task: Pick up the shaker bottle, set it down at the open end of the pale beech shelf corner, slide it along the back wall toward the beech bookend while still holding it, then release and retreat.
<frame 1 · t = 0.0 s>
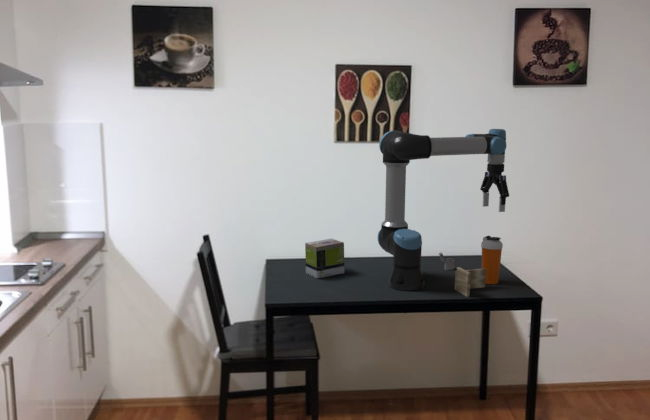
hand: (493, 209, 297), 28 cm above the table, fingers open, 13 cm apart
shaker bottle: (489, 282, 281), on the table
lighter: (446, 269, 299), on the table
tea box: (324, 274, 292), on the table
bookend: (475, 291, 267), on the table
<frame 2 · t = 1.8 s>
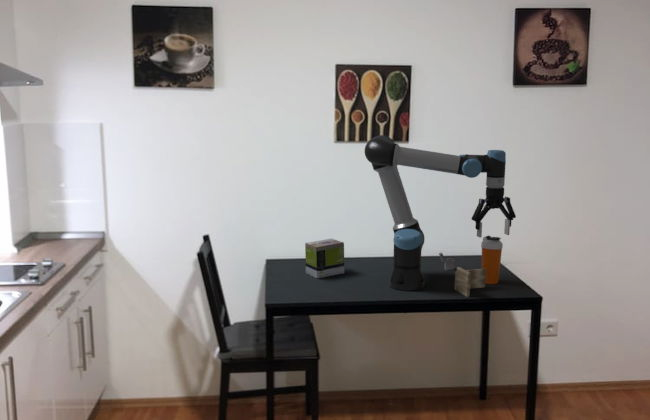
hand: (493, 235, 276), 21 cm above the table, fingers open, 13 cm apart
nothing on the table moved.
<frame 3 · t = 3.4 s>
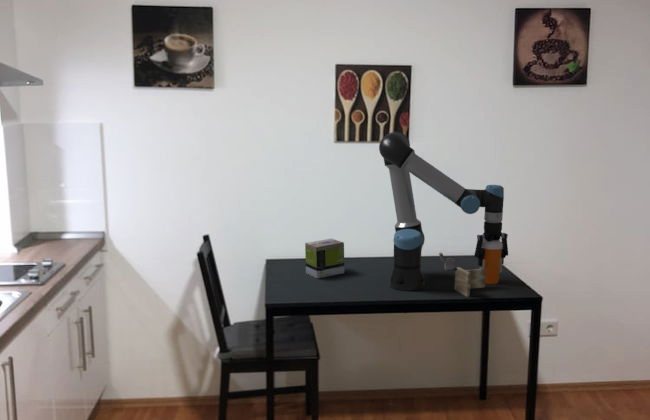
hand: (490, 272, 280), 4 cm above the table, fingers open, 8 cm apart
shaker bottle: (489, 282, 281), on the table, touching gripper
everything else where it was.
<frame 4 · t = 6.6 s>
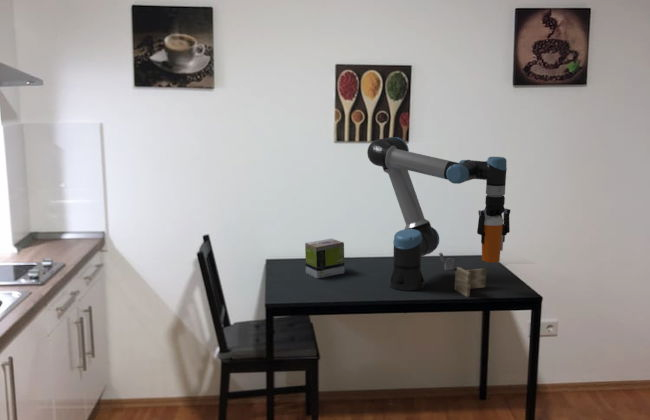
hand: (492, 250, 264), 17 cm above the table
shaker bottle: (490, 260, 265), point 13 cm above the table, touching gripper, hand
everything else where it was.
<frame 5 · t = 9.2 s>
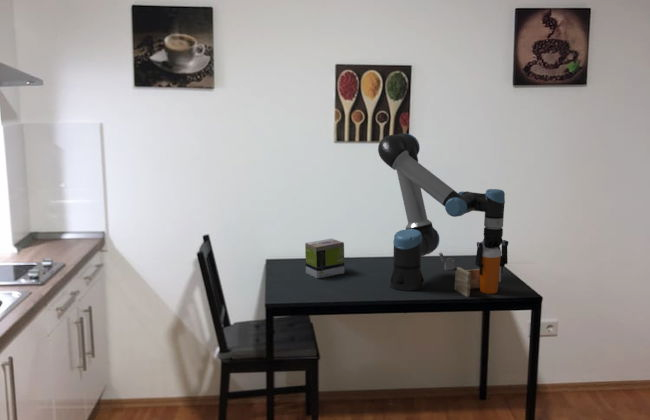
hand: (490, 281, 267), 4 cm above the table, fingers open, 6 cm apart
shaker bottle: (488, 291, 268), on the table, touching gripper, hand
everything else where it was.
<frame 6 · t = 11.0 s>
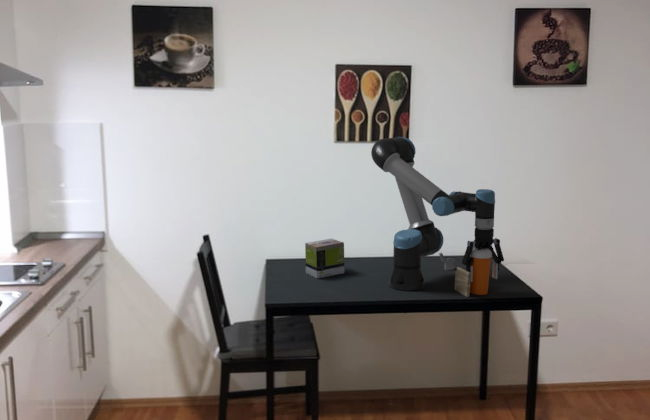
hand: (482, 279, 266), 5 cm above the table, fingers open, 11 cm apart
shaker bottle: (478, 292, 266), on the table
everything else where it was.
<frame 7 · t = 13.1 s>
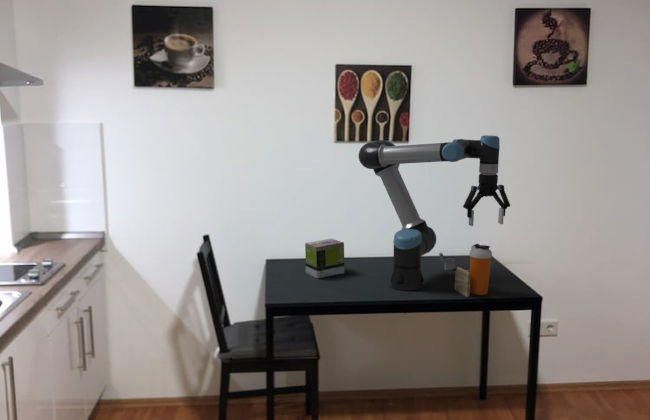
hand: (485, 224, 267), 27 cm above the table, fingers open, 13 cm apart
nothing on the table moved.
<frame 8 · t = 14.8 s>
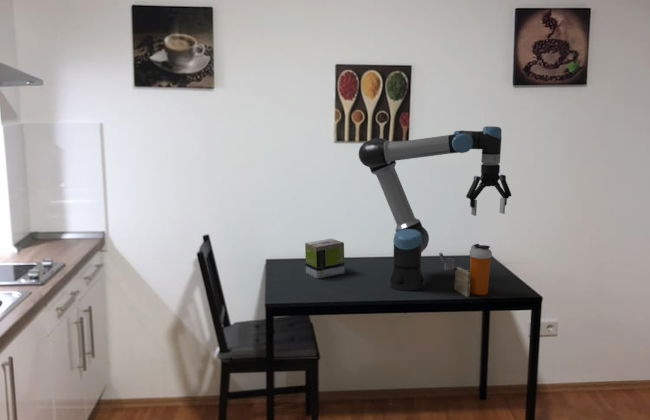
hand: (487, 214, 271), 31 cm above the table, fingers open, 13 cm apart
nothing on the table moved.
at the end: shaker bottle 0.1 cm from the target spot, on the table; shaker bottle tilted 0°; the gripper is holding nothing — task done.
